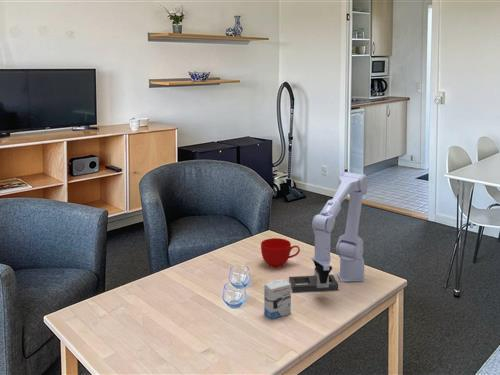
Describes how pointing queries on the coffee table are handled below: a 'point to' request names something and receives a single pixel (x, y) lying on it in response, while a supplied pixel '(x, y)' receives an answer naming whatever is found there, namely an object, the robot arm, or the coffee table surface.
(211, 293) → the coffee table surface
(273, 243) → the ceramic cup
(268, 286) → the ink box
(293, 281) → the dark grey double frame
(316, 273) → the block
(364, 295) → the coffee table surface
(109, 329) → the coffee table surface
